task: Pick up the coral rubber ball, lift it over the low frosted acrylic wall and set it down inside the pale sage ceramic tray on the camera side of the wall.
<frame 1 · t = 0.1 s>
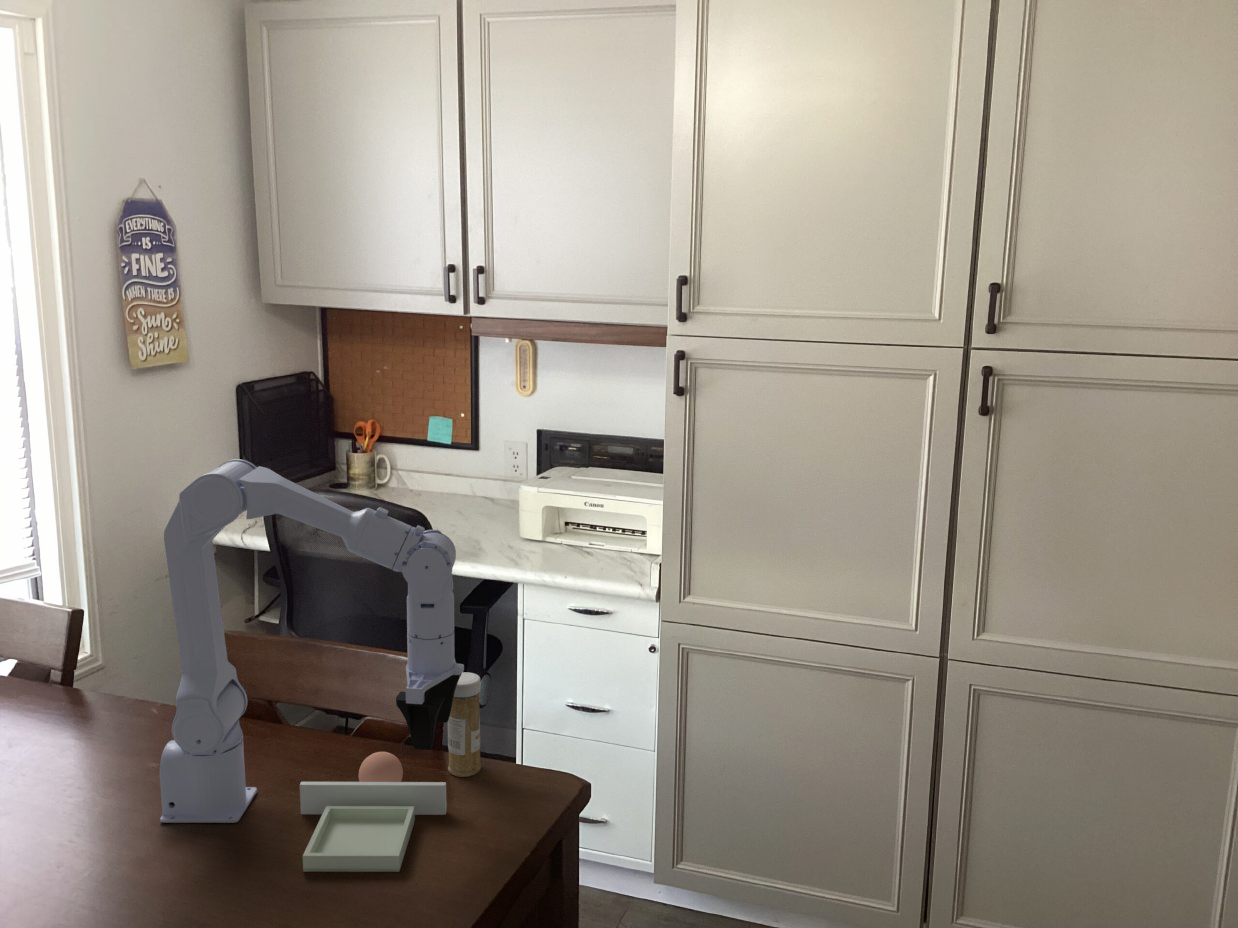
hand: (431, 734, 129), 10 cm above the table, tool pointing down, fingers open, 7 cm apart
ball: (380, 773, 133), point 3 cm above the table
spice bottle: (464, 771, 140), on the table
tray: (361, 845, 121), on the table
acrylic wall: (374, 812, 129), on the table
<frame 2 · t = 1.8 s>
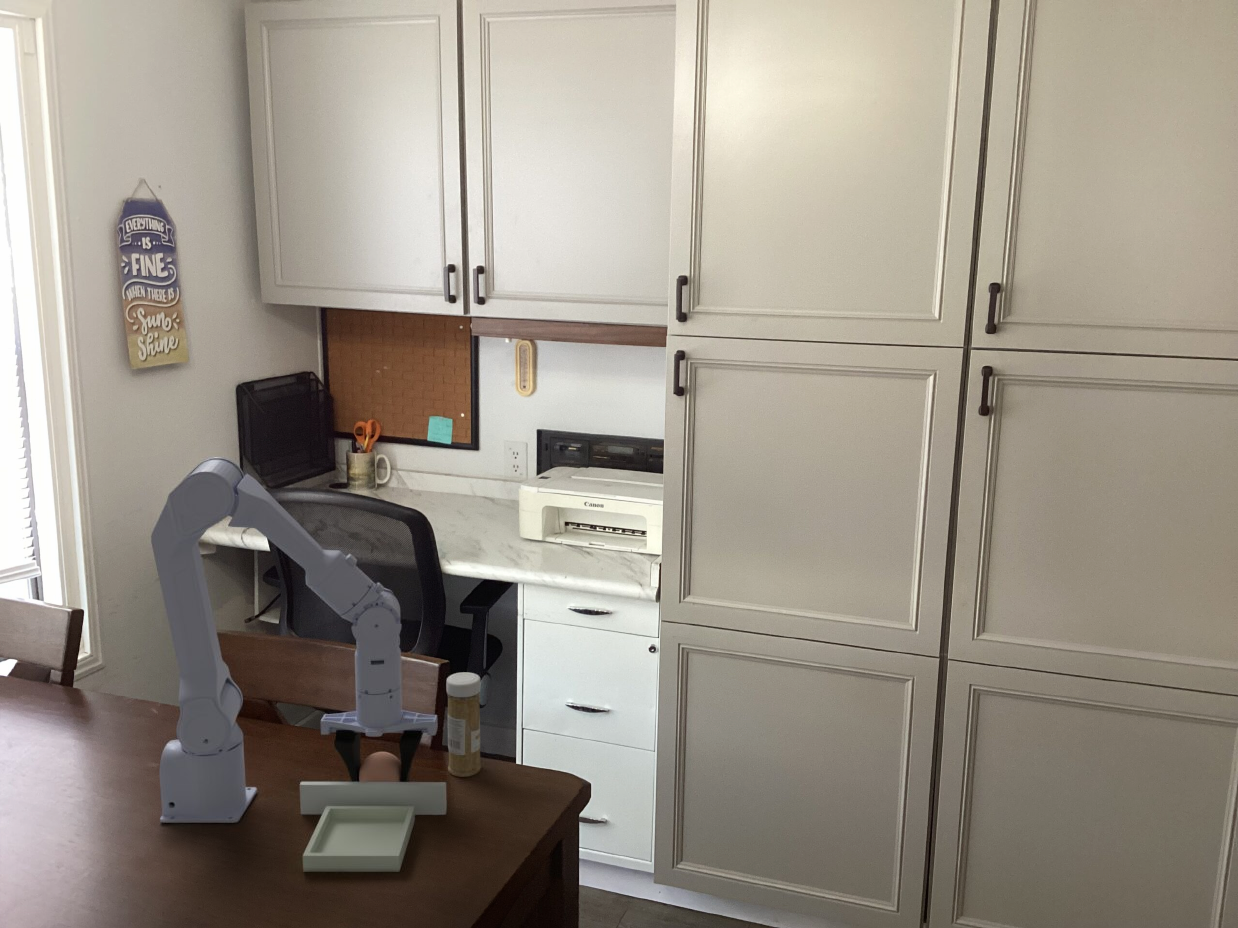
hand: (381, 783, 133), 1 cm above the table, tool pointing down, fingers closed on ball, 6 cm apart
ball: (380, 773, 133), point 3 cm above the table, touching gripper
everything else where it was.
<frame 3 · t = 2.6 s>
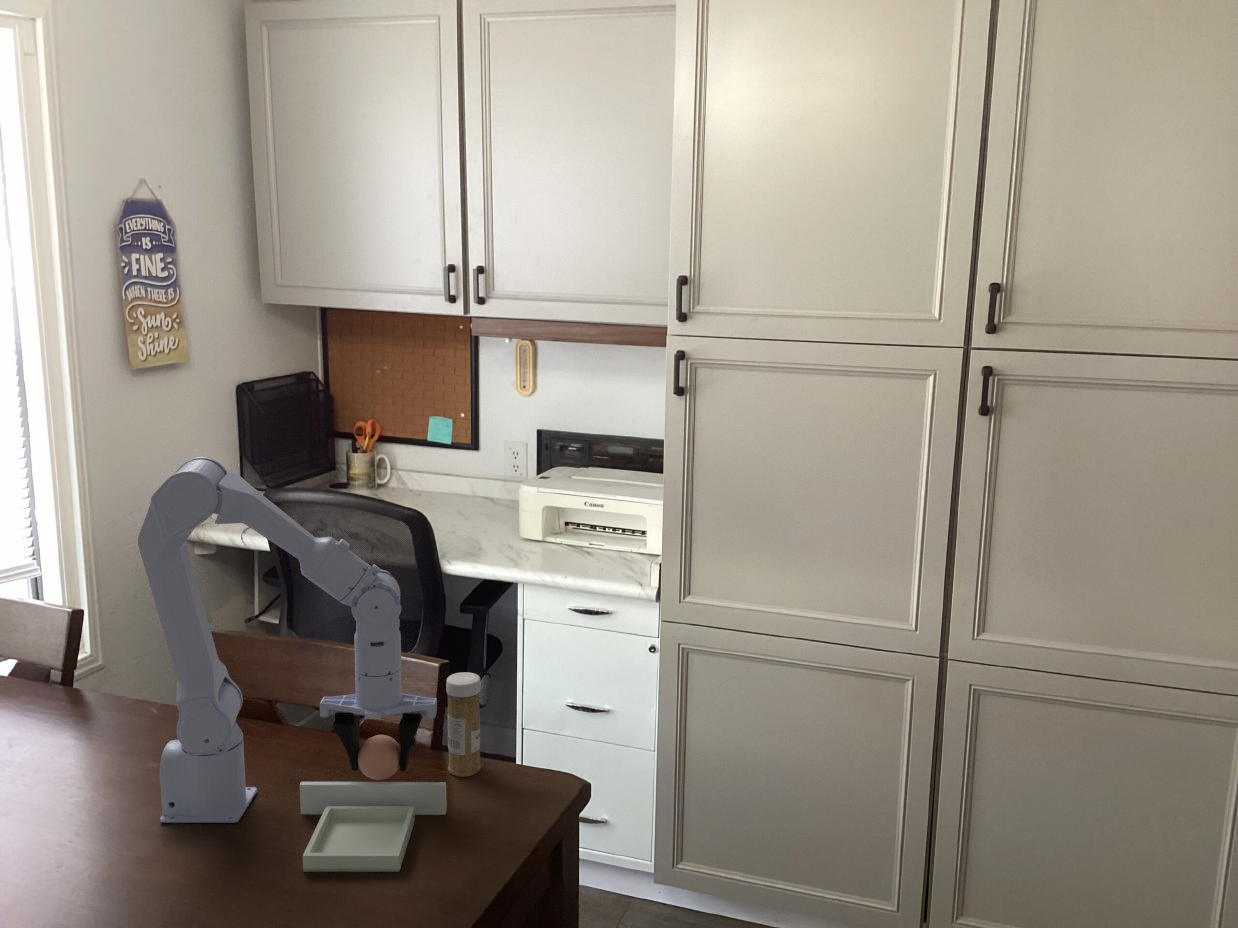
hand: (380, 766, 133), 4 cm above the table, tool pointing down, fingers closed on ball, 6 cm apart
ball: (379, 757, 132), point 5 cm above the table, touching gripper
everything else where it was.
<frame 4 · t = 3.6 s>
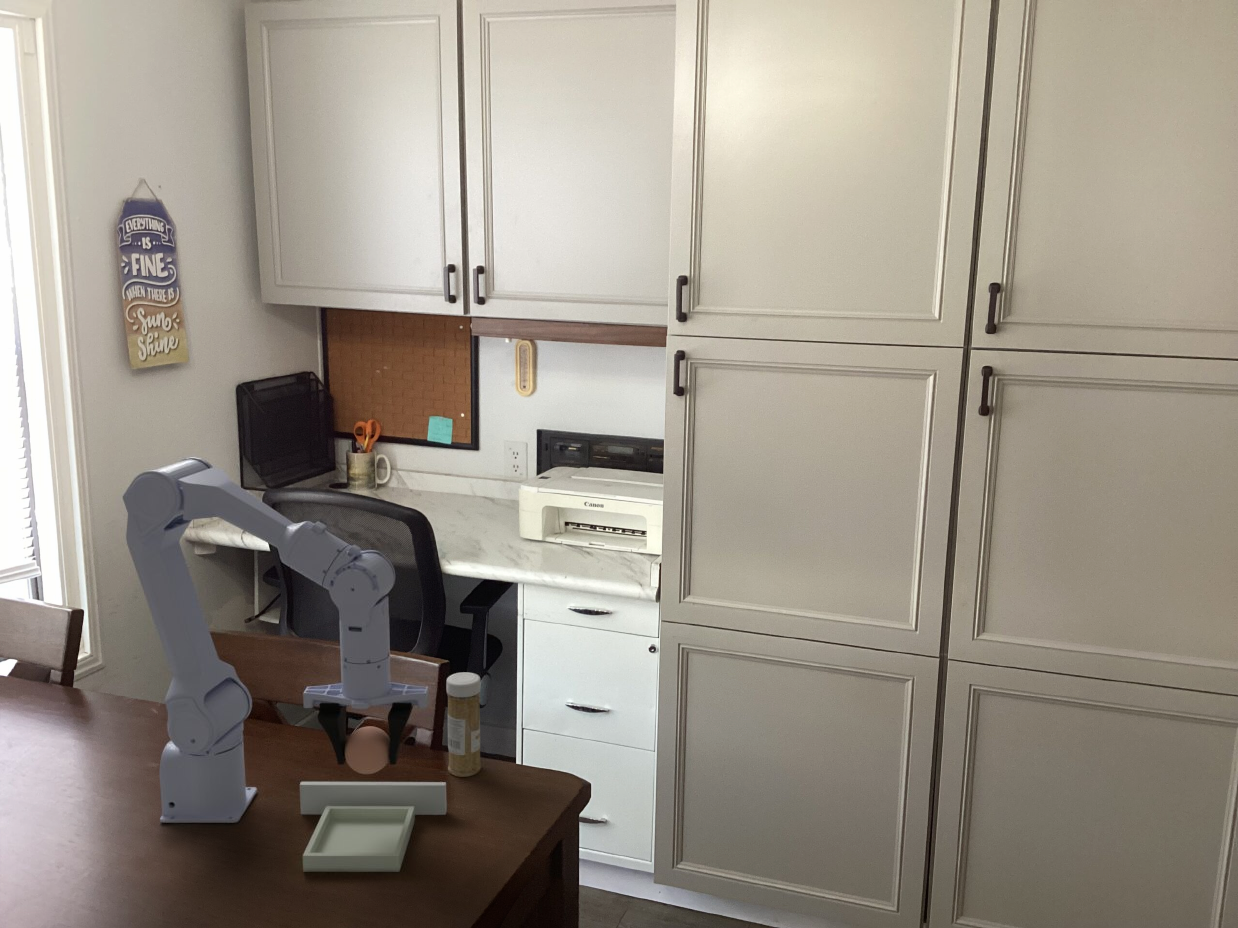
hand: (368, 760, 124), 8 cm above the table, tool pointing down, fingers closed on ball, 6 cm apart
ball: (368, 749, 124), point 10 cm above the table, touching gripper
everything else where it was.
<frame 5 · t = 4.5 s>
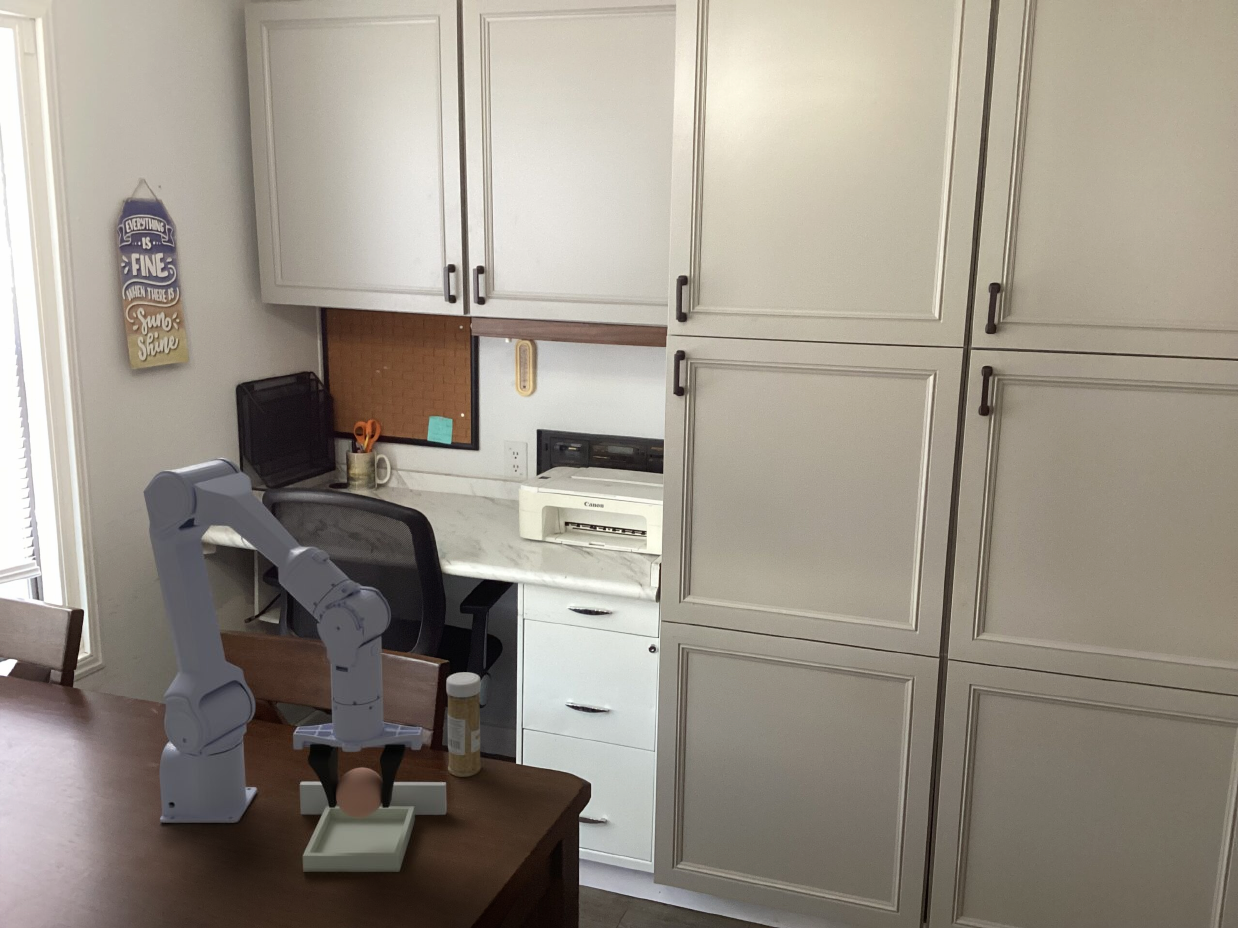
hand: (360, 803, 120), 5 cm above the table, tool pointing down, fingers closed on ball, 6 cm apart
ball: (360, 792, 120), point 7 cm above the table, touching gripper
everything else where it was.
when the fingers open (3 cm above the table, at t = 5.4 s): ball drops 1 cm, resting on tray.
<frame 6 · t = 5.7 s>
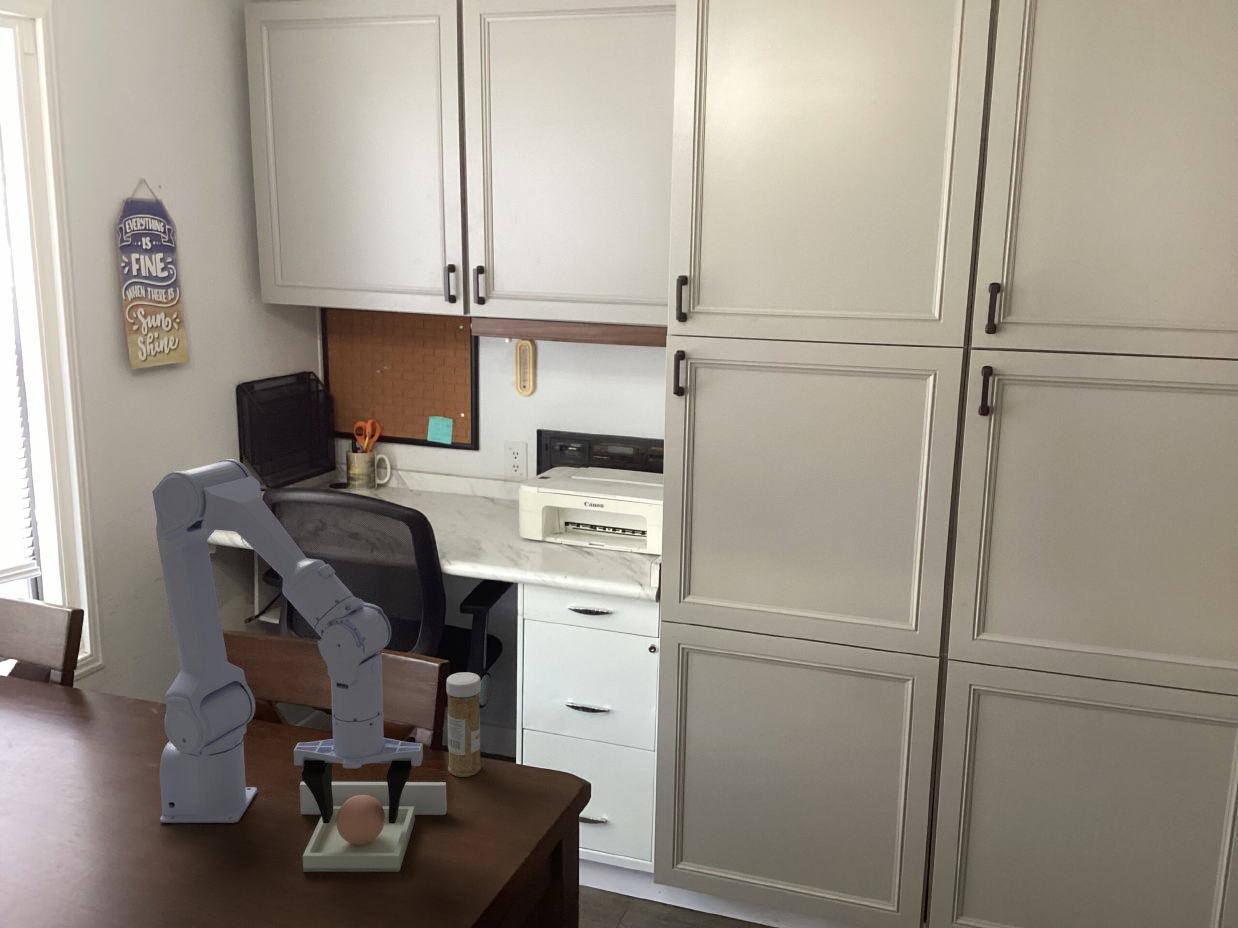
hand: (360, 818, 121), 3 cm above the table, tool pointing down, fingers open, 7 cm apart
ball: (360, 819, 121), point 3 cm above the table, touching tray
everything else where it was.
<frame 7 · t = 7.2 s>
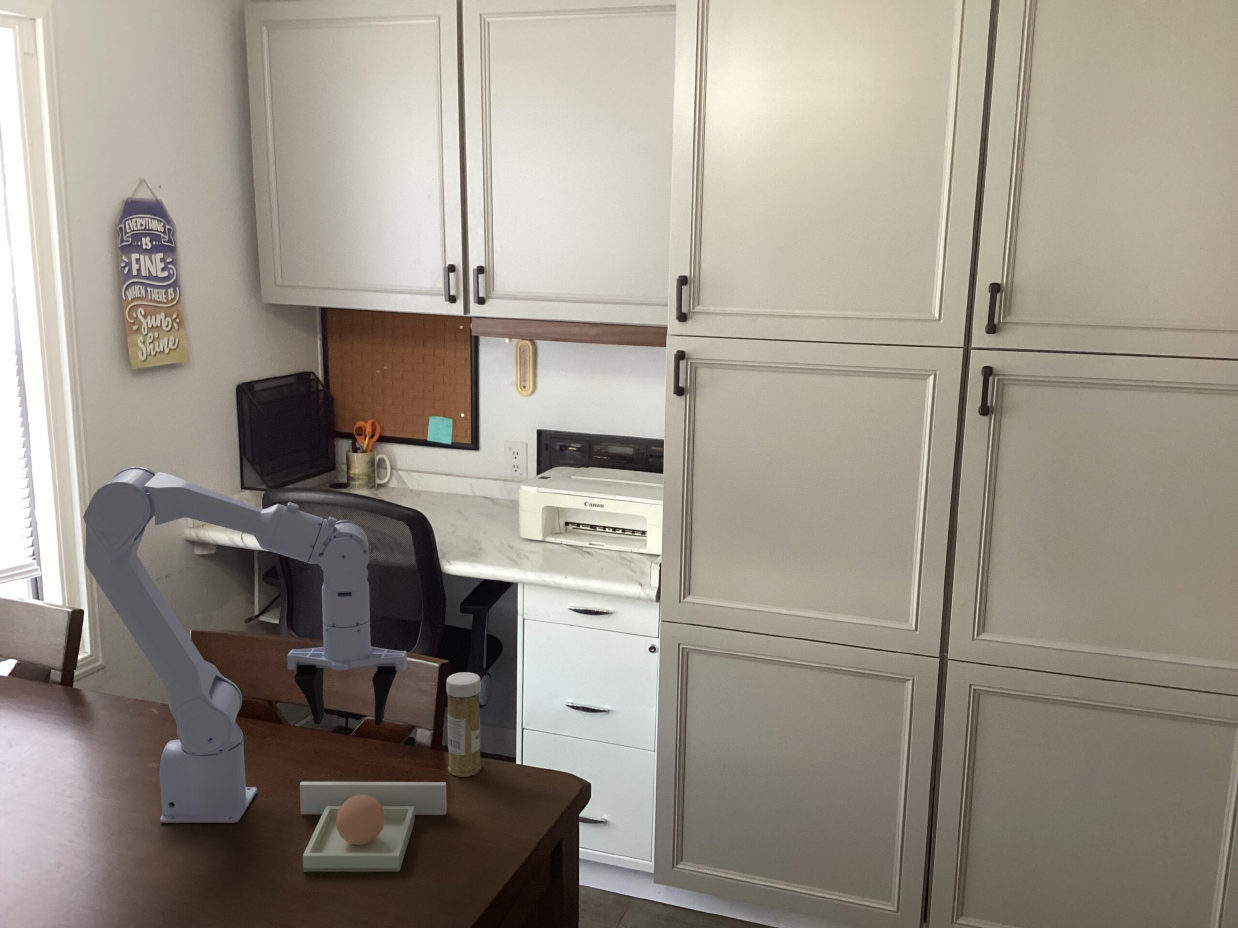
hand: (349, 720, 131), 10 cm above the table, tool pointing down, fingers open, 7 cm apart
nothing on the table moved.
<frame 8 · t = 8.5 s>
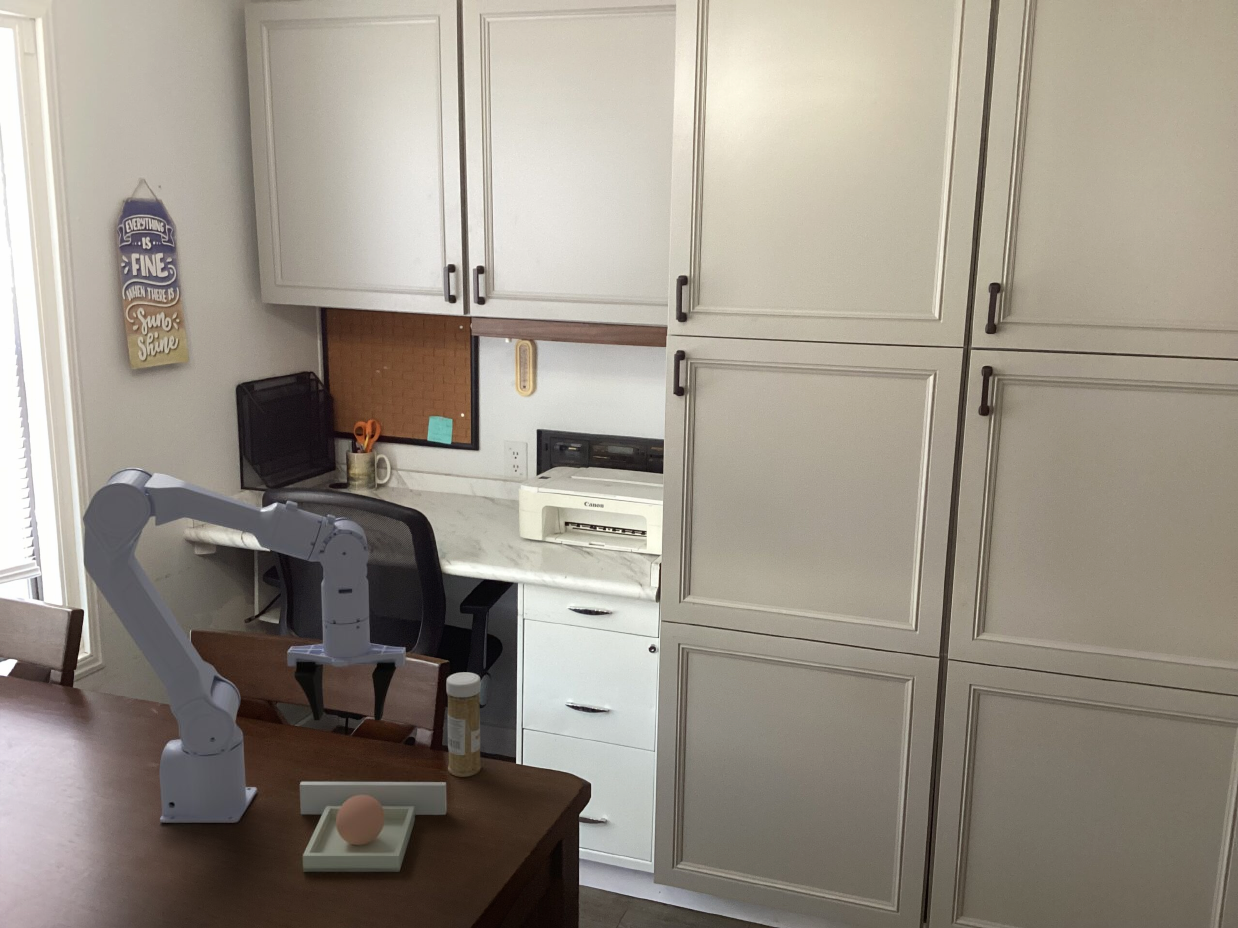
hand: (348, 717, 132), 10 cm above the table, tool pointing down, fingers open, 7 cm apart
nothing on the table moved.
at the end: ball 0.1 cm off-centre on the tray, point 3.3 cm above the tray's base; the gripper is holding nothing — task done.
